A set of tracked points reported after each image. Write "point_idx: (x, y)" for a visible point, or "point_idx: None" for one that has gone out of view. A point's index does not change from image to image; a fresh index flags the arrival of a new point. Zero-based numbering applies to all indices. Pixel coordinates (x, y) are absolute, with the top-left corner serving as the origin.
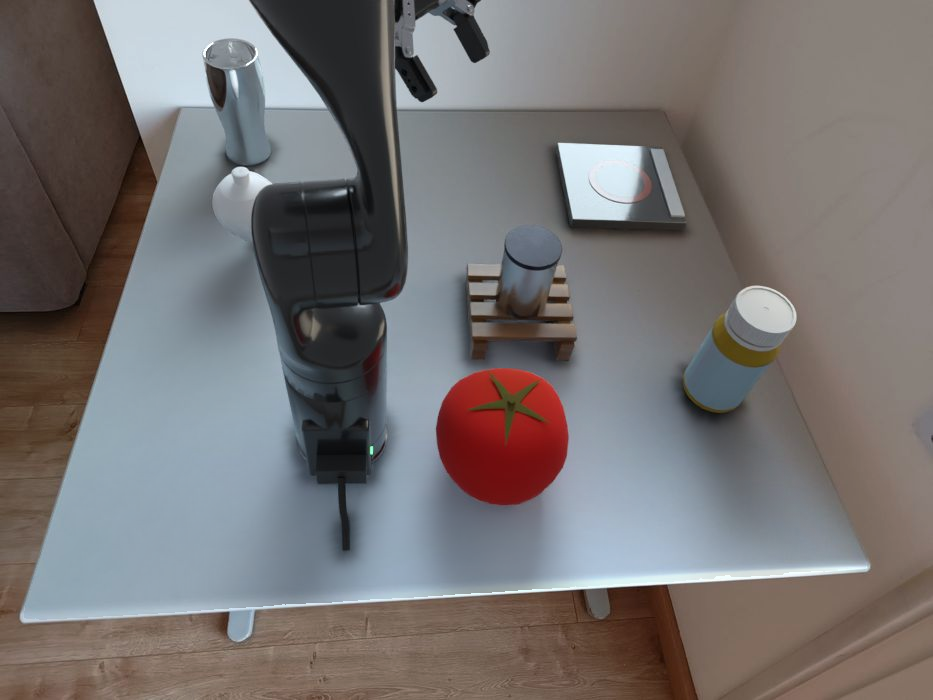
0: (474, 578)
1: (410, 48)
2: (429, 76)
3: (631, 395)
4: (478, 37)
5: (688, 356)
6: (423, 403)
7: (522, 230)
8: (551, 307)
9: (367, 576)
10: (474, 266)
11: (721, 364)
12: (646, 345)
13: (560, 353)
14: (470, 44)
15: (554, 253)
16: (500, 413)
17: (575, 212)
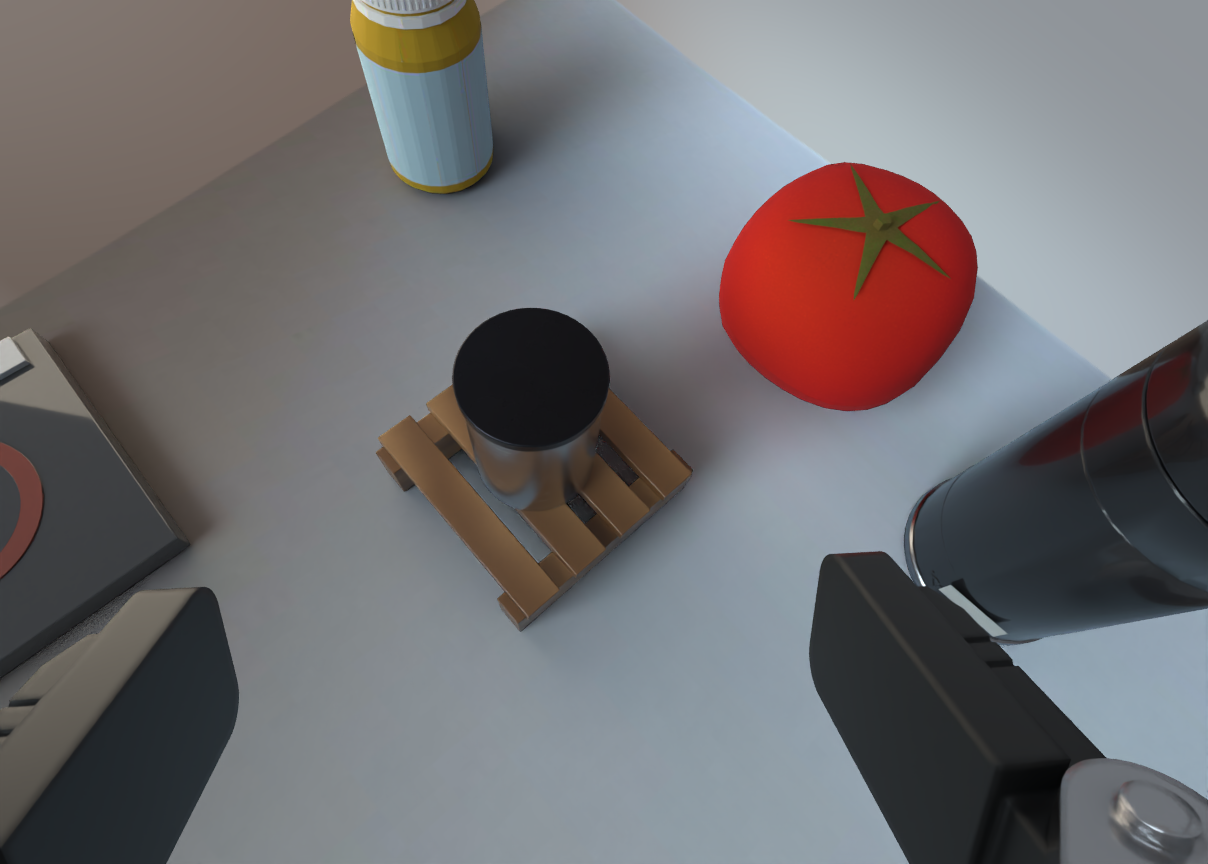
0: None
1: (1134, 814)
2: (885, 611)
3: (541, 243)
4: (115, 677)
5: (397, 207)
6: (823, 494)
7: (504, 423)
8: None
9: (1077, 373)
10: (524, 596)
11: (481, 58)
12: (423, 267)
13: None
14: (167, 753)
15: (518, 323)
16: (908, 230)
17: (146, 546)
